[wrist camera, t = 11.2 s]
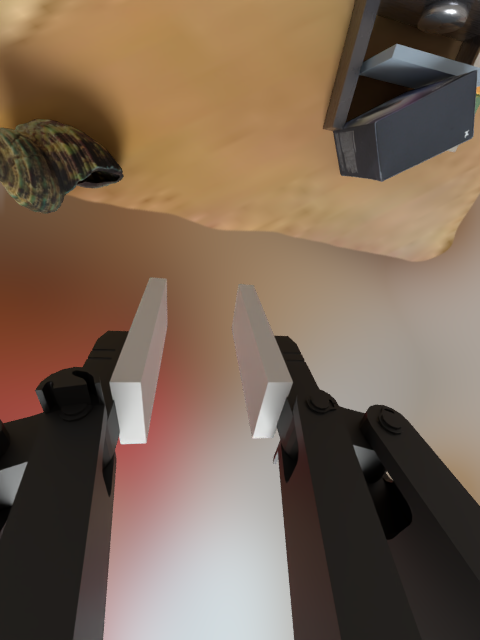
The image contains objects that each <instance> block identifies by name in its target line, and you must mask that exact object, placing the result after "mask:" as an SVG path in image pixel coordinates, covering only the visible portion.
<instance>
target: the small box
mask: <svg viewBox="0 0 480 640" xmlns="http://www.w3.org/2000/svg"><path fill="white" fill-rule="evenodd" d="M477 73H478V71H477V70H474V71H471V72H468V73H465V74H462V75H458V76H455V77H452V78H449V79H445V80H442V81H439V82H436V83H433V84H429V85H426V86H423V87H420V88H417V89H414V90H411V91H408V92H405V93H403V94H401V95H399V96H397V97H395V98H393V99H391V100H389V101H387V102H385V103H383V104H381V105H379V106H377V107H375V108H373V109H371V110H369V111H368V112H366V113H364V114H362V115H360V116H358V117H356V118H354V119H352V120H350V121H348V122H346V123H345V126H344V129H343V130H336V131H333V133H334V139H335V145H336V151H337V157H338V162H339V168H340V174H341V175H342V176H351V177H359V178H368V179H373V180H378V181H381V182H382V181H384V180H386V179H388V178H391V177H393V176H395V175H397V174H399V173H401V172H403V171H405V170H407V169H409V168H411V167H413V166H416V165H418V164H420V163H422V162H424V161H426V160H428V159H430V158H432V157H434V156H436V155H438V154H441V153H443V152H445V151H447V150H449V149H451V148H453V147H455V146H457V145H460V144H461V143H463V142H466V141H468V140H470V139H472V137H473V133H474V117H475V103H476V89H477Z"/></svg>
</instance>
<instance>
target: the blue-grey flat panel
mask: <svg viewBox="0 0 480 640" xmlns="http://www.w3.org/2000/svg"><path fill="white" fill-rule="evenodd" d="M474 70H477V71H478V73H477V89H476V94H479V95H480V68H478V67H475V66H471V65H468V64H465V63H461V62H458V61H454V60H451V59H447V58H444V57H441V56H437V55H434V54H430V53H427V52H423V51H420V50H417V49H413V48H410V47H406V46H403V45H399V44H395V45H393V46H392V47H390V48H388V49H386V50H384V51H382V52H381V53H379V54H377V55H375V56H373V57H372V58H370V59H368V60H366V61H364V62H363V64H362V67H361V71H360V74H359V75H362V76H366V77H370V78H373V79H377V80H381V81H385V82H389V83H393V84H397V85H401V86H405V87H409V88H412V89H417V88H420V87H423V86H426V85H429V84H433V83H436V82H439V81H442V80H445V79H449V78H452V77H455V76H458V75H462V74H465V73H468V72H471V71H474Z"/></svg>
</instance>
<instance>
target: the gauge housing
mask: <svg viewBox="0 0 480 640" xmlns="http://www.w3.org/2000/svg"><path fill="white" fill-rule="evenodd" d="M376 15H379V16H383V17H386V18H389V19H392V20H395V21H399V22H402V23H405V24H408V25H411V26H415V27H418V28H419V29H420V30H421V31H423V32H426V33H431V34H440V35H444V36H447V37H450V38H453V39H456V40H460V41H463V43H462V46H461V48H460V50H459V53H458V55H457V57H456V60H455V61H458V62H461V63H465V64H468V65H471V66H475V67H478V68H480V0H356V1H355V5H354V9H353V13H352V17H351V20H350V24H349V28H348V32H347V36H346V40H345V44H344V48H343V52H342V56H341V60H340V64H339V68H338V72H337V76H336V79H335V83H334V87H333V91H332V95H331V99H330V103H329V107H328V111H327V115H326V119H325V123H324V127H323V129H326V130H331V131H336V130H343V129H344V126H345V122H346V119H347V116H348V112H349V109H350V105H351V102H352V98H353V95H354V91H355V88H356V84H357V81H358V77H359V74H360V71H361V67H362V64H363V60H364V57H365V53H366V50H367V46H368V43H369V39H370V36H371V32H372V29H373V26H374V22H375V19H376ZM479 105H480V95H479V94H476V103H475V113H476V111H477V109H478V107H479ZM457 147H458V145H457V146H455V147H453V148H451V149H449V150H447V151H450V152H455V151H456V149H457Z"/></svg>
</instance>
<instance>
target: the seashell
mask: <svg viewBox="0 0 480 640" xmlns="http://www.w3.org/2000/svg"><path fill="white" fill-rule="evenodd" d="M122 173H123V171H122V168H121V167H120V166H119V164H118V163H117V162H116V161H115V159H114V158H113V157H112V156H111V155H110V153H109V152H108V151H107V150H106V149H105V148H104V147H103V146H102V145H101V144H100V143H98V142H96V141H95V140H93V139H92V138H90V137H89V136H87V135H86V134H84V133H83V132H81V131H80V130H78V129H75V128H73V127H71V126H69V125H65V124H62V123H59V122H57V121H53V120H43V119H35V120H33V121H30V122H28V123H25V124H20V125H18V126H17V127H16V130H12V129H7V128H0V182H1V184H2V185H3V186H4V187H5V189H6V190H7V192H8V193H9V194H10V195H11V196H12V197H13V198H14V199H15V200H16V201H17V203H18V204H20V205H22V206H24V207H27V208H29V209H30V210H32V211H35V212H41V213H50V212H55V211H57V209H58V208H59V207H60V206H61V203H62V202H63V199H64V196H65V195H66V194H67V193H69V192H70V191H71V190H73V189H74V188H75V187H76V185H77V186H80V187H85V188H99V187H103V186H108V185H109V184H112V183H117V182H119V181H120V180H121V179H122V178H123V177H124V176H123V174H122Z"/></svg>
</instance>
